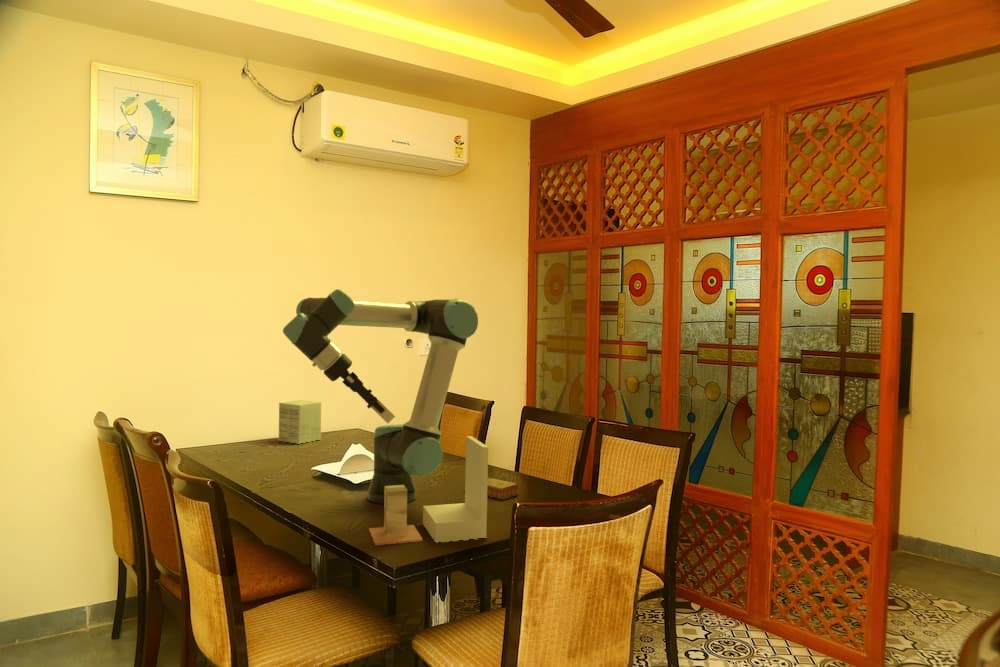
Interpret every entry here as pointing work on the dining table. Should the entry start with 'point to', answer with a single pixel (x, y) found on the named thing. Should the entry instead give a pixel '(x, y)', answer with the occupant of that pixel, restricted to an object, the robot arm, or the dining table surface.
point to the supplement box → (299, 421)
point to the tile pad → (382, 539)
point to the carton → (501, 488)
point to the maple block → (395, 511)
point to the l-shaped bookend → (467, 516)
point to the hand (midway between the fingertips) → (387, 416)
